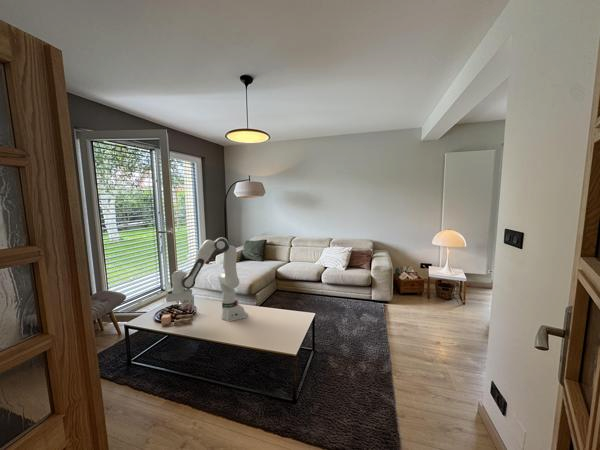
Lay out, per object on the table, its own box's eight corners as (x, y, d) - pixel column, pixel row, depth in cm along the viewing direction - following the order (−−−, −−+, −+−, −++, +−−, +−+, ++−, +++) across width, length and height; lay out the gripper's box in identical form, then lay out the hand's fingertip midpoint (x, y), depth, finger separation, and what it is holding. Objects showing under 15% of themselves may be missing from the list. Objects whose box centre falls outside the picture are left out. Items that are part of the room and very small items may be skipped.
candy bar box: (180, 313, 229) (179, 296, 228) (183, 311, 234) (182, 294, 233) (191, 313, 228) (191, 296, 227) (194, 311, 233) (194, 294, 232)
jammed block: (171, 320, 213) (170, 314, 212) (169, 323, 208) (169, 317, 207) (163, 321, 211) (163, 314, 211) (161, 324, 206) (161, 317, 206)
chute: (193, 318, 219) (192, 314, 219) (191, 323, 209) (190, 319, 209) (166, 321, 214) (166, 316, 214) (163, 326, 204) (163, 322, 204)
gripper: (192, 286, 215) (194, 302, 217) (166, 289, 210) (168, 305, 212) (191, 289, 209) (192, 305, 210) (164, 292, 204) (166, 308, 206)
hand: (180, 305), depth 211 cm, fingers closed
